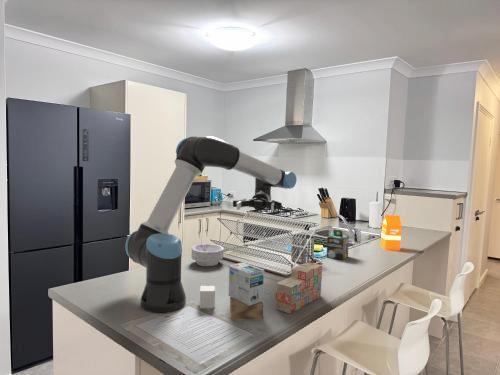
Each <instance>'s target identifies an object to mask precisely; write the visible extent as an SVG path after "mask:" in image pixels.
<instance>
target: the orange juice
mask: <svg viewBox="0 0 500 375" xmlns="http://www.w3.org/2000/svg"><path fill="white" fill-rule="evenodd" d="M380 236H381V239H380V248H382V249H383V250H385V251H400V250H401V241H402V221H401V216H400V215H390V214H384V218H383V219H382V223H381V235H380Z"/></svg>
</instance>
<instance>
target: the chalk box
mask: <svg viewBox="0 0 500 375" xmlns="http://www.w3.org/2000/svg"><path fill="white" fill-rule="evenodd" d="M337 233H339V234H337ZM326 238H327V239H326V258H330V259H335V260H339V261H344V260H345V259H346V258H347V257H349V247H350V246H349V243H350V242H349V238H350V235H345V234H343V230H339V229H333V234H330V235H328V236H327V237H326Z"/></svg>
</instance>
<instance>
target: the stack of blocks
mask: <svg viewBox="0 0 500 375" xmlns="http://www.w3.org/2000/svg"><path fill="white" fill-rule="evenodd" d="M322 276H323V265H321V264H318V263H314V262H310V261H307V262H304V263H301V264H299V265H297V266H293V267H291V270H290V276H289V277H287V278H284V279H283V280H280V281H278V282H277V283H276V291H275V309H276V310H279V311H281V312H285V313H287V314H292V313H294V312H296V311H298V310H299V309H301V308H303V307H305V306H306V305H308V304H310V303H311V302H313V301H315V300H317V299H319V298H320V297H322V281H323V280H322V278H323V277H322Z"/></svg>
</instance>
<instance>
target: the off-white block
mask: <svg viewBox="0 0 500 375" xmlns="http://www.w3.org/2000/svg"><path fill="white" fill-rule="evenodd" d="M215 299H216V285H200V288H199V309H215V304H216V303H215V301H216V300H215Z"/></svg>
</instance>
